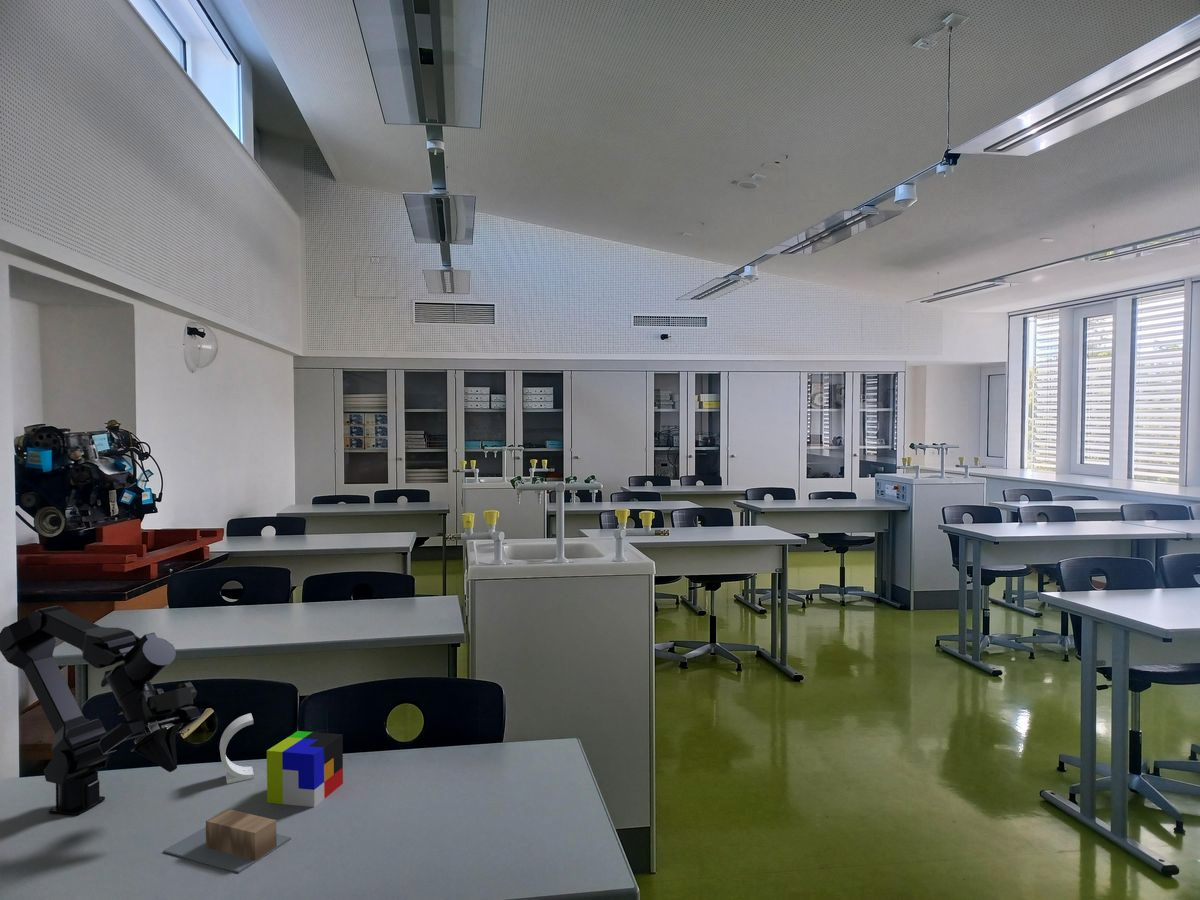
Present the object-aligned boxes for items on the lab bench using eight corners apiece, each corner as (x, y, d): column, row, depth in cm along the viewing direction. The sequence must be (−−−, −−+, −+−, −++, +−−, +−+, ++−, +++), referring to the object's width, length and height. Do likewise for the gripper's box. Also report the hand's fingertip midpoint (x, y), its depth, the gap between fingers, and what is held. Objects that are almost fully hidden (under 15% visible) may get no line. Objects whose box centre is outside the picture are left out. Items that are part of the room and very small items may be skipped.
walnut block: (205, 820, 126) (254, 833, 122) (228, 808, 130) (276, 820, 126) (206, 847, 126) (255, 860, 122) (228, 834, 130) (276, 846, 126)
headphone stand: (253, 778, 153) (253, 720, 153) (221, 785, 150) (220, 725, 150) (251, 770, 157) (251, 713, 157) (219, 776, 154) (219, 718, 154)
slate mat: (163, 852, 125) (163, 850, 125) (218, 821, 135) (218, 819, 135) (239, 872, 119) (238, 871, 119) (291, 838, 129) (291, 837, 129)
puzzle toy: (314, 807, 140) (313, 754, 140) (267, 802, 142) (266, 750, 142) (343, 783, 150) (342, 734, 150) (298, 779, 152) (297, 731, 152)
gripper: (133, 674, 126) (174, 755, 123) (204, 663, 144) (242, 733, 141) (80, 712, 126) (119, 795, 123) (158, 696, 144) (194, 767, 141)
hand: (173, 770), depth 132 cm, fingers closed
